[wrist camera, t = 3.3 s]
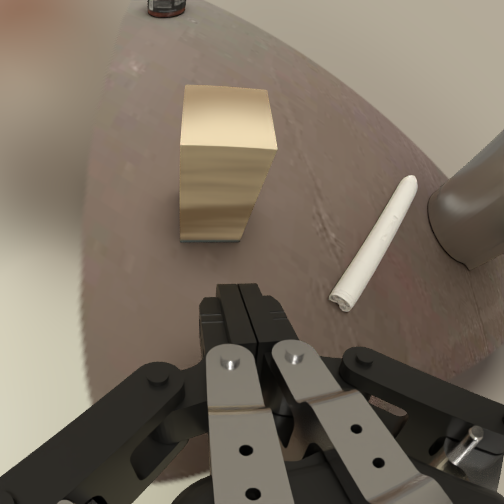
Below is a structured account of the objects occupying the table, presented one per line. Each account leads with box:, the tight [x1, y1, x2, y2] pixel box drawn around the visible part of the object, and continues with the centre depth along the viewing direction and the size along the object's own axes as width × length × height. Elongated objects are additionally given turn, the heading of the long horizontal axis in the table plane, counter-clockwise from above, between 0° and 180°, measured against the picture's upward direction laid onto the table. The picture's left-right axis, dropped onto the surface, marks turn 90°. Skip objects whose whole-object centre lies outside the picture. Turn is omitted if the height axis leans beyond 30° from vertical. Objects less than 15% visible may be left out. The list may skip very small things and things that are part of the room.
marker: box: [329, 176, 417, 312], centre depth 27 cm, size 18×2×2 cm, turn 141°
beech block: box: [180, 85, 278, 242], centre depth 20 cm, size 4×4×11 cm
